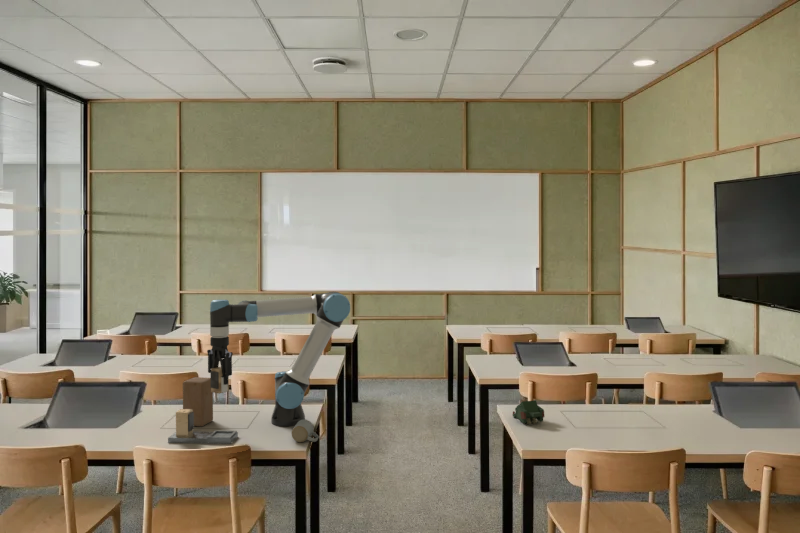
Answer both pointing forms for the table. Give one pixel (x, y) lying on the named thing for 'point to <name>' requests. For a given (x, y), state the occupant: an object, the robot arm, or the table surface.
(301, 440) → the ceramic mug
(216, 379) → the finger block
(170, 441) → the grey base plate
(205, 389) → the wooden block
